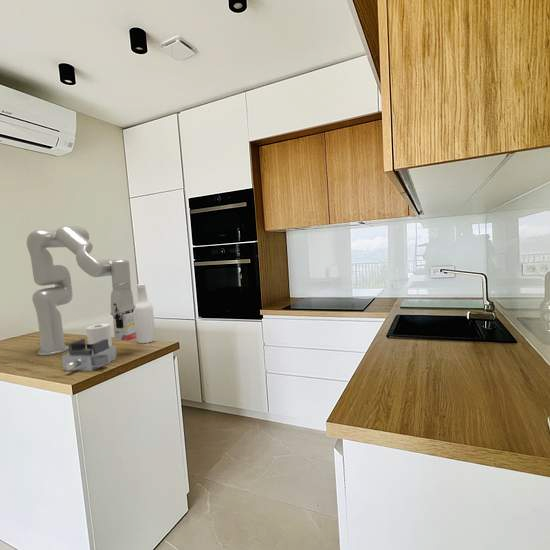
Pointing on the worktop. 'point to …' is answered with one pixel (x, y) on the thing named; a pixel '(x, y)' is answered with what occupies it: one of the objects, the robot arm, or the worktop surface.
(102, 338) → the toilet paper
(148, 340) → the alcohol
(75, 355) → the grey boxy piece
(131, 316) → the ink box
